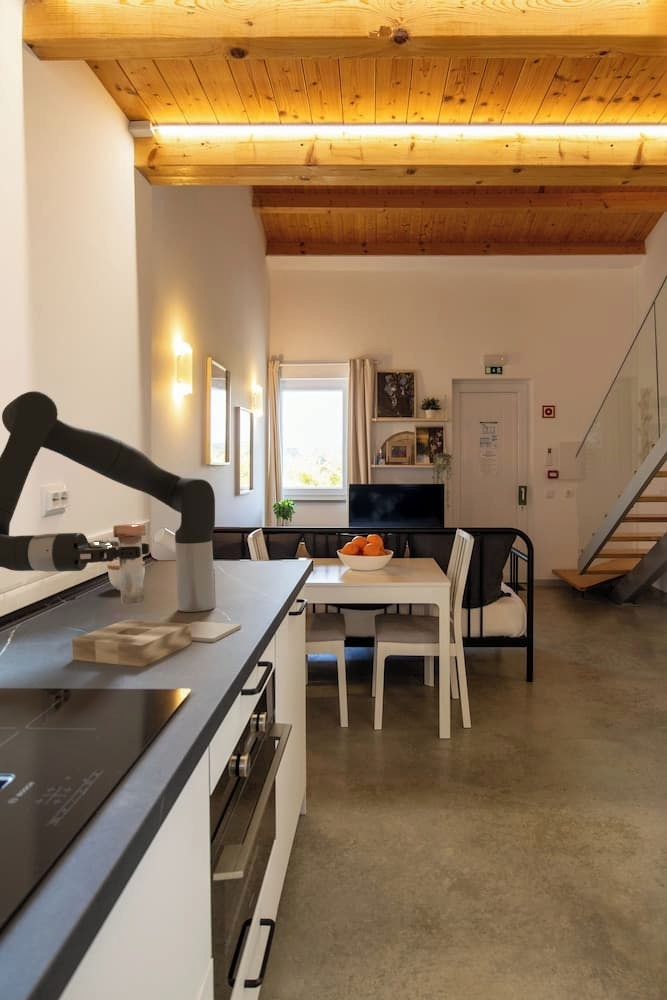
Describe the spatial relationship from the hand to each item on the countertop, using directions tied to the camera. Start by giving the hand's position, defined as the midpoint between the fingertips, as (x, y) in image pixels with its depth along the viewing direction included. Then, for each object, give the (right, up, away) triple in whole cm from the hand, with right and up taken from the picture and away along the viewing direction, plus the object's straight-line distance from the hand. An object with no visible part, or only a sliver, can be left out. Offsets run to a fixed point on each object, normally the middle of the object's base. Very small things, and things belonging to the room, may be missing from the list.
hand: (144, 550), depth 129 cm
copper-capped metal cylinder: (-2, -10, +1) cm, 10 cm away
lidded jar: (-25, -17, +69) cm, 76 cm away
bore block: (-2, -20, +1) cm, 20 cm away
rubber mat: (+9, -19, +14) cm, 25 cm away
